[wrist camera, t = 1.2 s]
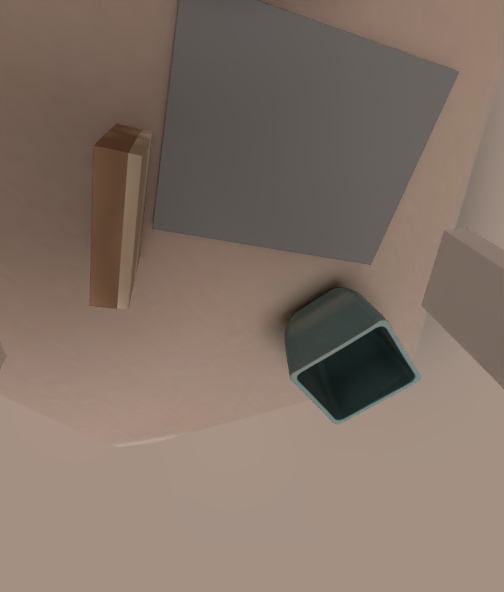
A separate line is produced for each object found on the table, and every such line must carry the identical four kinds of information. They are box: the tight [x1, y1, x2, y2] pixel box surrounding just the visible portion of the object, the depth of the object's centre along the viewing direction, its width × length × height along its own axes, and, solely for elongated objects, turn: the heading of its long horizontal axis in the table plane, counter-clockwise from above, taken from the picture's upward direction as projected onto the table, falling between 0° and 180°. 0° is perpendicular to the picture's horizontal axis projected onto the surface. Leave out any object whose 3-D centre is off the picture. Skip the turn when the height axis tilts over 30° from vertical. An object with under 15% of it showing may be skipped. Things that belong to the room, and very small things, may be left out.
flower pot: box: [285, 288, 421, 424], centre depth 34 cm, size 9×9×9 cm
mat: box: [153, 0, 459, 265], centre depth 28 cm, size 20×16×1 cm
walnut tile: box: [89, 124, 152, 310], centre depth 25 cm, size 2×10×8 cm, turn 166°
